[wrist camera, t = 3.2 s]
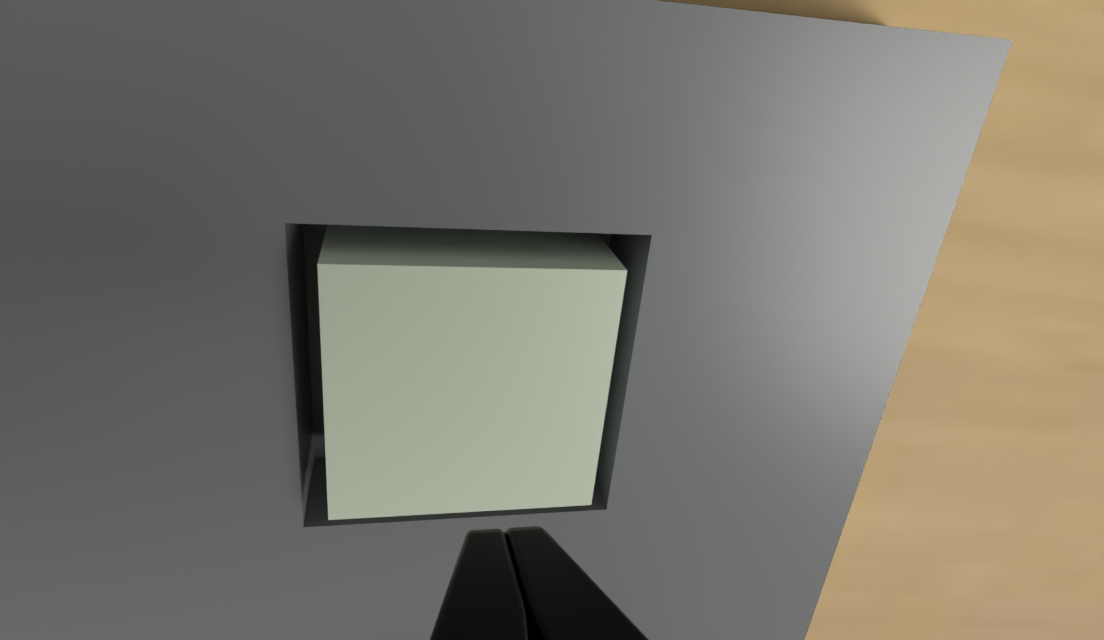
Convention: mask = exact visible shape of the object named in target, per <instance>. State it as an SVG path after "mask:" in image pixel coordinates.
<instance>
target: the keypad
mask: <svg viewBox="0 0 1104 640" xmlns="http://www.w3.org/2000/svg"><path fill="white" fill-rule="evenodd" d="M1011 43H1012V40H1009V39H1000V38H991V37H982V36H973V35H964V34H955V33H946V32H937V31H928V30H919V29H910V28H901V27H892V26H883V25H874V24H865V23H856V22H847V21H838V20H829V19H820V18H811V17H802V16H793V15H784V14H775V13H767V12H758V11H749V10H740V9H731V8H722V7H713V6H704V5H695V4H686V3H677V2H668V1H659V0H0V640H430V637H431V634H432V631H433V629H434V626H435V623H436V620H437V617H438V614H439V611H440V608H441V605H442V602H443V599H444V596H445V593H446V590H447V587H448V584H449V582H450V579H451V576H452V573H453V570H454V567H455V564H456V561H457V558H458V555H459V552H460V549H461V546H462V543H463V540H464V537H465V535H466V533H467V532H468V531H469V530H472V529H485V528H500V529H502V530H503V531H504V532H505V530H506V529H508V528H509V527H516V526H532V525H537V526H541V527H542V528H544V529H545V530H546V531H547V532H548V533H549V534H550V535H551V536H552V537H553V538H554V539H555V541H556V542H557V543H558V544H559V545H560V546H561V547H562V548H563V549H564V550H565V551H566V552H567V553H568V554H569V555H570V556H571V557H572V559H573V560H574V561H575V562H576V563H577V564H578V565H579V566H580V567H581V568H582V569H583V570H584V571H585V572H586V573H587V574H588V575H589V577H590V578H591V579H592V580H593V581H594V582H595V583H596V584H597V585H598V586H599V587H600V588H601V589H602V590H603V591H604V592H605V593H606V595H607V596H608V597H609V598H610V599H611V600H612V601H613V602H614V603H615V604H616V605H617V606H618V607H619V608H620V609H621V610H622V611H623V613H624V614H625V615H626V616H627V617H628V618H629V619H630V620H631V621H632V622H633V623H634V624H635V625H636V626H637V627H638V628H639V629H640V631H641V632H642V633H643V634H644V635H645V636H646V637H647V638H648V639H649V640H804V639H805V636H806V633H807V631H808V628H809V625H810V622H811V619H812V616H813V613H814V610H815V607H816V605H817V602H818V599H819V596H820V593H821V590H822V587H823V584H824V582H825V579H826V576H827V573H828V570H829V567H830V564H831V561H832V558H833V556H834V553H835V550H836V547H837V544H838V541H839V538H840V535H841V533H842V530H843V527H844V524H845V521H846V518H847V515H848V512H849V510H850V507H851V504H852V501H853V498H854V495H855V492H856V489H857V486H858V484H859V481H860V478H861V475H862V472H863V469H864V466H865V463H866V461H867V458H868V455H869V452H870V449H871V446H872V443H873V440H874V438H875V435H876V432H877V429H878V426H879V423H880V420H881V417H882V414H883V412H884V409H885V406H886V403H887V400H888V397H889V394H890V391H891V389H892V386H893V383H894V380H895V377H896V374H897V371H898V368H899V366H900V363H901V360H902V357H903V354H904V351H905V348H906V345H907V342H908V340H909V337H910V334H911V331H912V328H913V325H914V322H915V319H916V317H917V314H918V311H919V308H920V305H921V302H922V299H923V296H924V293H925V291H926V288H927V285H928V282H929V279H930V276H931V273H932V270H933V268H934V265H935V262H936V259H937V256H938V253H939V250H940V247H941V245H942V242H943V239H944V236H945V233H946V230H947V227H948V224H949V221H950V219H951V216H952V213H953V210H954V207H955V204H956V201H957V198H958V196H959V193H960V190H961V187H962V184H963V181H964V178H965V175H966V173H967V170H968V167H969V164H970V161H971V158H972V155H973V152H974V149H975V147H976V144H977V141H978V138H979V135H980V132H981V129H982V126H983V124H984V121H985V118H986V115H987V112H988V109H989V106H990V103H991V100H992V98H993V95H994V92H995V89H996V86H997V83H998V80H999V77H1000V75H1001V72H1002V69H1003V66H1004V63H1005V60H1006V57H1007V54H1008V52H1009V49H1010V46H1011ZM327 225H356V226H387V227H418V228H449V229H480V230H511V231H542V232H573V233H598V234H599V236H600V237H601V238H602V239H603V241H604V242H605V243H606V244H607V246H608V247H609V248H610V249H611V251H612V252H613V253H614V254H615V256H616V257H617V258H618V259H619V261H620V262H621V263H622V264H623V266H624V267H625V268H626V269H627V276H626V282H625V289H624V296H623V302H622V309H621V315H620V322H619V328H618V335H617V341H616V348H615V354H614V361H613V367H612V374H611V380H610V387H609V393H608V400H607V406H606V413H605V419H604V426H603V432H602V439H601V445H600V452H599V458H598V465H597V471H596V478H595V484H594V491H593V497H592V504H591V505H583V506H566V507H548V508H531V509H513V510H496V511H478V512H461V513H443V514H426V515H408V516H391V517H373V518H356V519H338V520H328V502H327V479H326V456H325V432H324V409H323V385H322V362H321V338H320V315H319V292H318V268H317V263H318V259H319V256H320V252H321V248H322V244H323V240H324V236H325V233H326V229H327Z"/></svg>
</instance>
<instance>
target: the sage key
mask: <svg viewBox="0 0 1104 640" xmlns="http://www.w3.org/2000/svg"><path fill="white" fill-rule="evenodd" d="M317 268H318V292H319V315H320V338H321V362H322V385H323V409H324V432H325V456H326V479H327V502H328V520H338V519H356V518H373V517H391V516H408V515H426V514H443V513H461V512H478V511H496V510H513V509H531V508H548V507H566V506H583V505H591V504H592V497H593V491H594V484H595V478H596V471H597V465H598V458H599V452H600V445H601V439H602V432H603V426H604V419H605V413H606V406H607V400H608V393H609V387H610V380H611V374H612V367H613V361H614V354H615V348H616V341H617V335H618V328H619V322H620V315H621V309H622V302H623V296H624V289H625V282H626V276H627V269H626V268H625V267H624V266H623V264H622V263H621V262H620V261H619V259H618V258H617V257H616V256H615V254H614V253H613V252H612V251H611V249H610V248H609V247H608V246H607V244H606V243H605V242H604V241H603V239H602V238H601V237H600V236H599V234H598V233H573V232H542V231H511V230H480V229H449V228H418V227H387V226H356V225H327V229H326V233H325V236H324V240H323V244H322V248H321V252H320V256H319V259H318V263H317Z"/></svg>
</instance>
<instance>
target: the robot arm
mask: <svg viewBox="0 0 1104 640" xmlns="http://www.w3.org/2000/svg"><path fill="white" fill-rule="evenodd" d="M430 640H649V639H648V638H647V637H646V636H645V635H644V634H643V633H642V632H641V631H640V629H639V628H638V627H637V626H636V625H635V624H634V623H633V622H632V621H631V620H630V619H629V618H628V617H627V616H626V615H625V614H624V613H623V611H622V610H621V609H620V608H619V607H618V606H617V605H616V604H615V603H614V602H613V601H612V600H611V599H610V598H609V597H608V596H607V595H606V593H605V592H604V591H603V590H602V589H601V588H600V587H599V586H598V585H597V584H596V583H595V582H594V581H593V580H592V579H591V578H590V577H589V575H588V574H587V573H586V572H585V571H584V570H583V569H582V568H581V567H580V566H579V565H578V564H577V563H576V562H575V561H574V560H573V559H572V557H571V556H570V555H569V554H568V553H567V552H566V551H565V550H564V549H563V548H562V547H561V546H560V545H559V544H558V543H557V542H556V541H555V539H554V538H553V537H552V536H551V535H550V534H549V533H548V532H547V531H546V530H545V529H544V528H542V527H541V526H537V525H532V526H516V527H509V528H508V529H506V530H505V532H504V531H503V530H502V529H500V528H485V529H472V530H469V531H468V532H467V533H466V535H465V537H464V540H463V543H462V546H461V549H460V552H459V555H458V558H457V561H456V564H455V567H454V570H453V573H452V576H451V579H450V582H449V584H448V587H447V590H446V593H445V596H444V599H443V602H442V605H441V608H440V611H439V614H438V617H437V620H436V623H435V626H434V629H433V631H432V634H431V637H430Z"/></svg>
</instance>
